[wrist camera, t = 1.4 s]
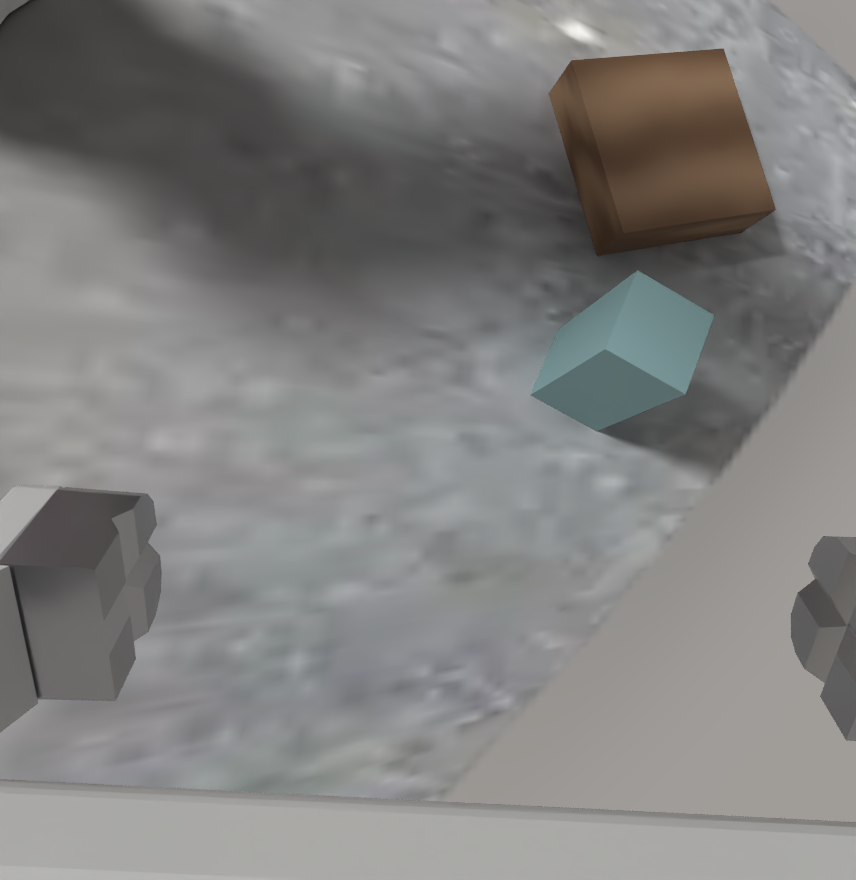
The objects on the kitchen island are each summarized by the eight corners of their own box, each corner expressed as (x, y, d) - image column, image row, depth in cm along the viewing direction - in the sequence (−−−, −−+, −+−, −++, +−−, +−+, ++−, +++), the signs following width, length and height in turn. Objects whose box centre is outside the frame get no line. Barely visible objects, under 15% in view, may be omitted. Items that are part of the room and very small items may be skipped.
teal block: (530, 394, 50) (605, 349, 41) (558, 329, 52) (637, 270, 42) (596, 431, 51) (685, 394, 42) (623, 365, 52) (714, 315, 43)
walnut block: (546, 96, 55) (571, 60, 51) (690, 83, 59) (723, 48, 55) (594, 258, 54) (623, 233, 50) (738, 234, 57) (775, 209, 54)
